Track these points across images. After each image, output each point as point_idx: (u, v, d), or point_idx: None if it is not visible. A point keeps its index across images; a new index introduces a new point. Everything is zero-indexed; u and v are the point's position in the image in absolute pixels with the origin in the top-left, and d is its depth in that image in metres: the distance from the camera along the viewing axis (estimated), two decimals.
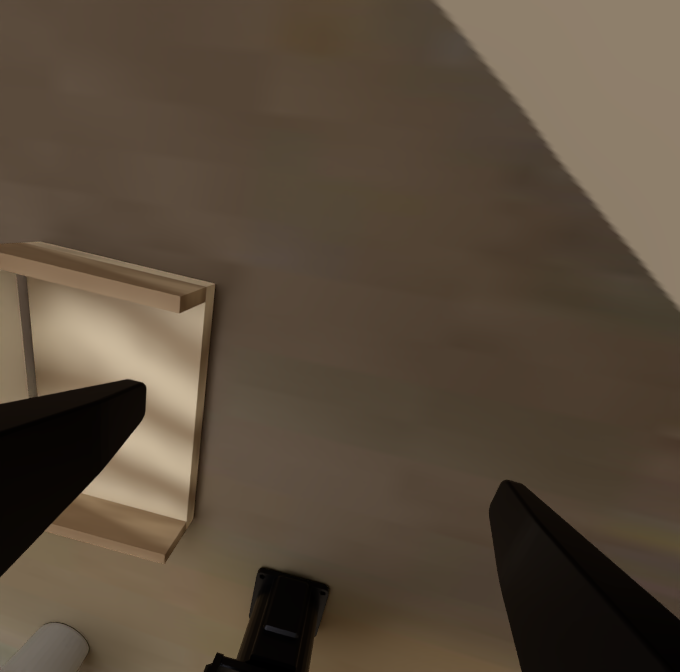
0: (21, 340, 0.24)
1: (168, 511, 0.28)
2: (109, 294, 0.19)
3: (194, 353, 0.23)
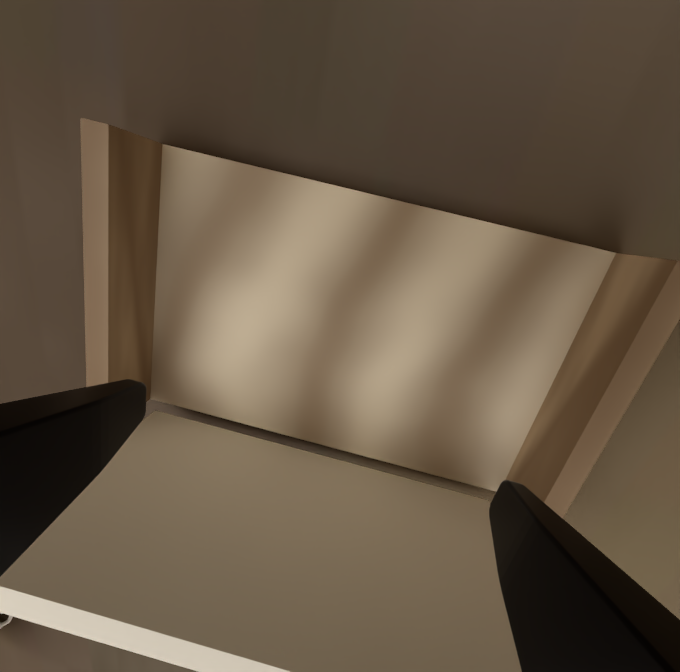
0: (251, 437, 0.18)
1: (582, 288, 0.14)
2: (105, 247, 0.13)
3: (247, 176, 0.14)
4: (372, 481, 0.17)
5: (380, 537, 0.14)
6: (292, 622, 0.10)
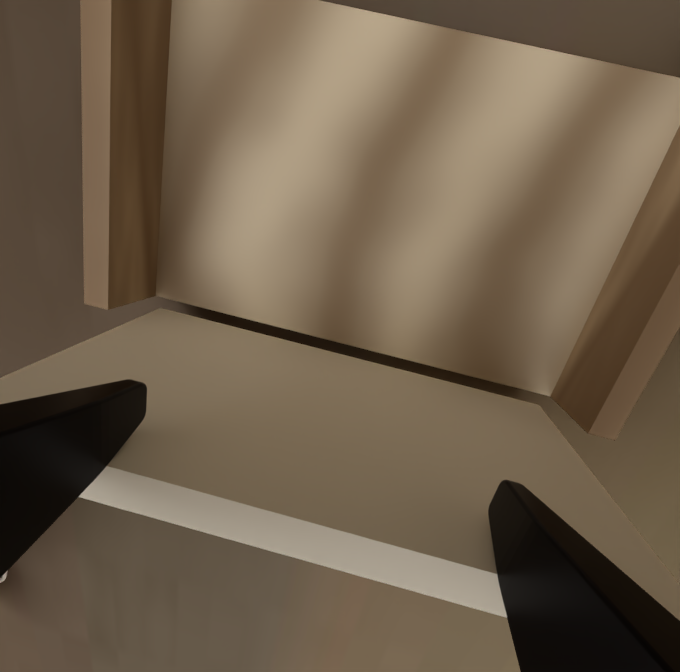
0: (269, 336, 0.16)
1: (658, 130, 0.12)
2: (107, 64, 0.11)
3: (271, 5, 0.12)
4: (408, 380, 0.15)
5: (425, 424, 0.12)
6: (332, 486, 0.09)
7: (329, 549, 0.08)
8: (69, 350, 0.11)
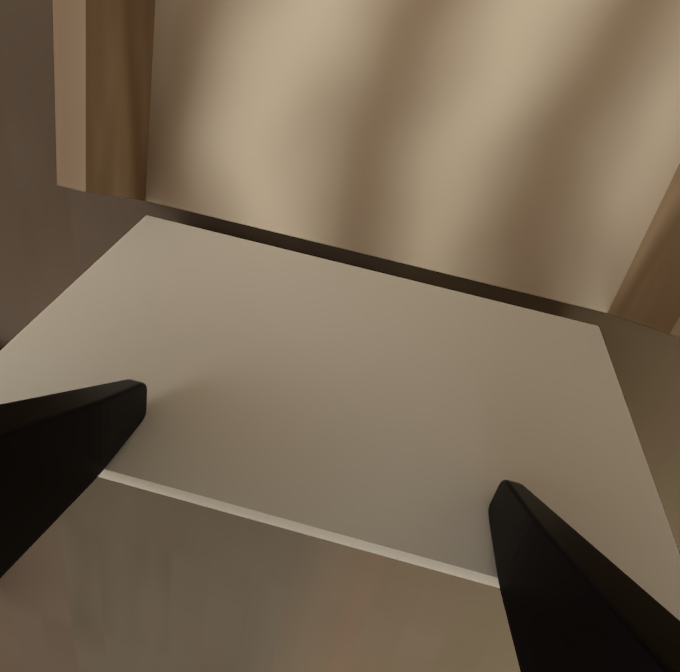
0: (275, 248, 0.13)
1: None
2: None
3: None
4: (439, 303, 0.13)
5: (449, 375, 0.11)
6: (335, 476, 0.08)
7: (330, 537, 0.08)
8: (53, 305, 0.10)
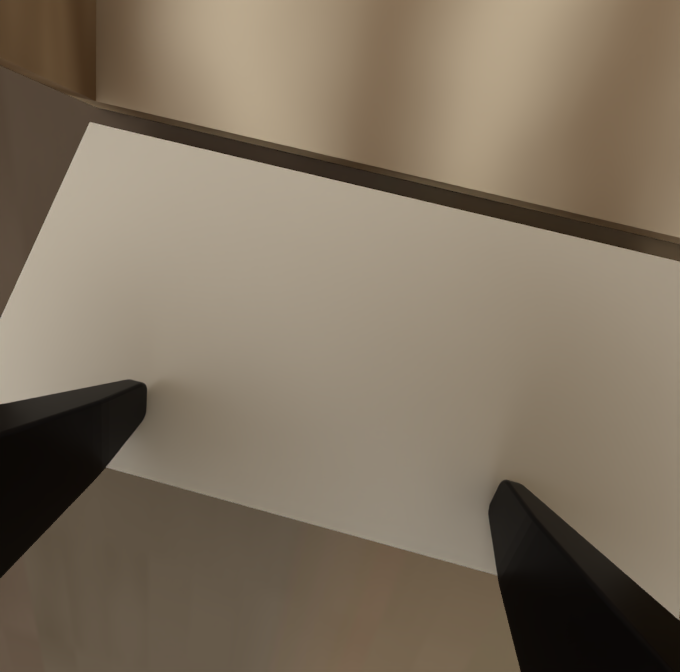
0: (262, 166, 0.10)
1: None
2: None
3: None
4: (478, 244, 0.10)
5: (474, 354, 0.09)
6: (335, 476, 0.08)
7: None
8: (21, 282, 0.09)
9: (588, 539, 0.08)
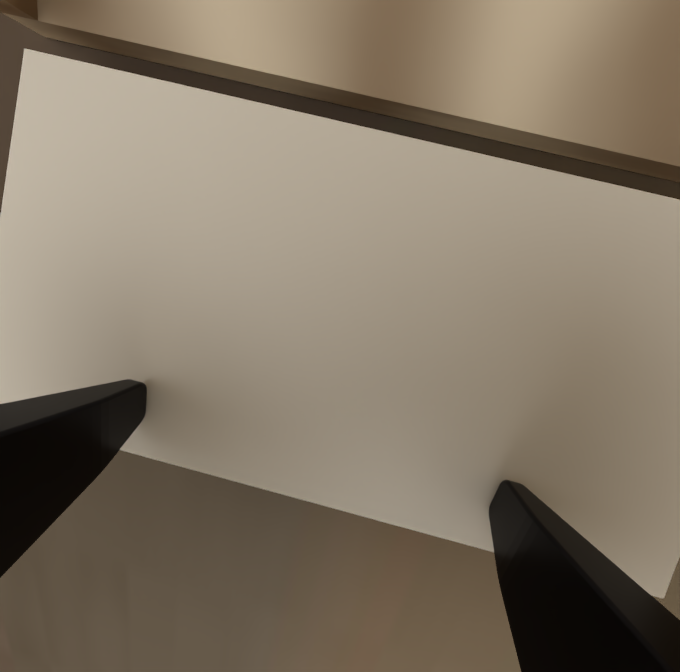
0: (242, 104, 0.08)
1: None
2: None
3: None
4: (512, 204, 0.08)
5: (492, 341, 0.08)
6: (337, 463, 0.08)
7: None
8: None
9: (588, 525, 0.08)
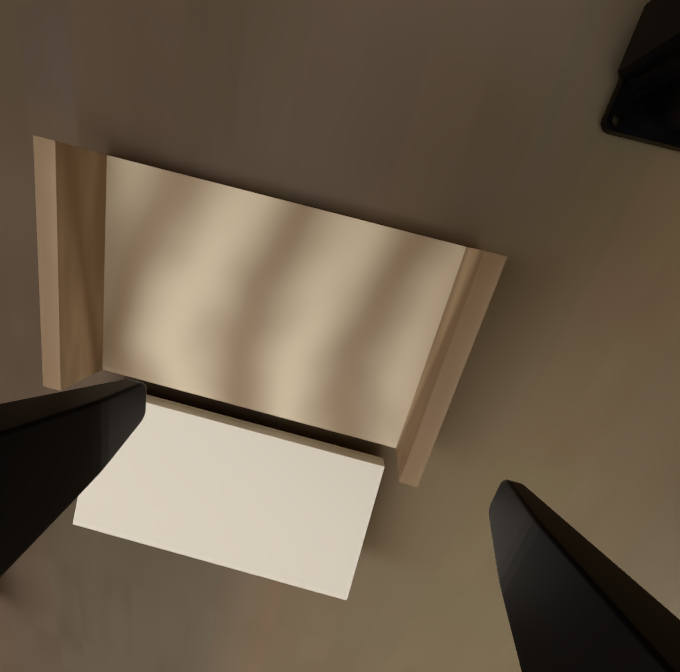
0: (182, 414, 0.21)
1: (443, 275, 0.18)
2: (55, 237, 0.16)
3: (176, 182, 0.18)
4: (283, 454, 0.21)
5: (278, 502, 0.21)
6: (221, 547, 0.21)
7: None
8: None
9: (317, 572, 0.21)
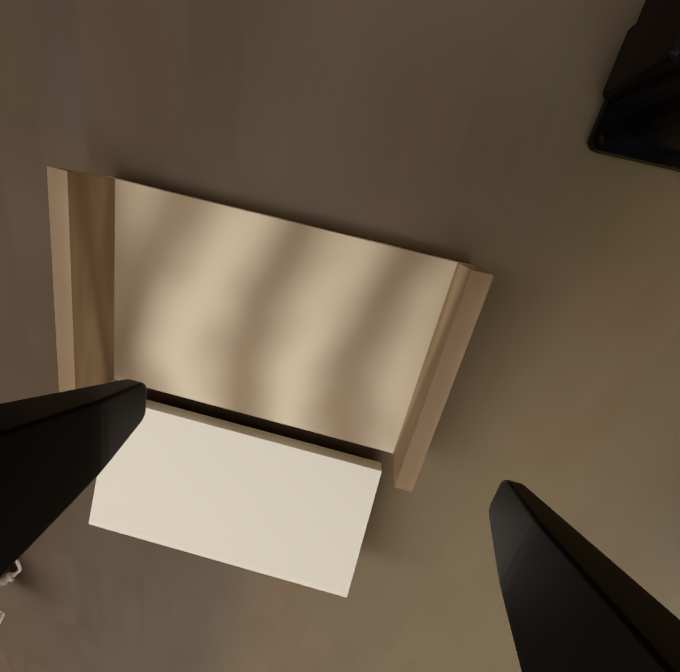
0: (189, 421, 0.22)
1: (436, 289, 0.18)
2: (68, 259, 0.17)
3: (180, 203, 0.19)
4: (285, 459, 0.22)
5: (280, 505, 0.22)
6: (227, 546, 0.23)
7: None
8: None
9: (318, 570, 0.22)
